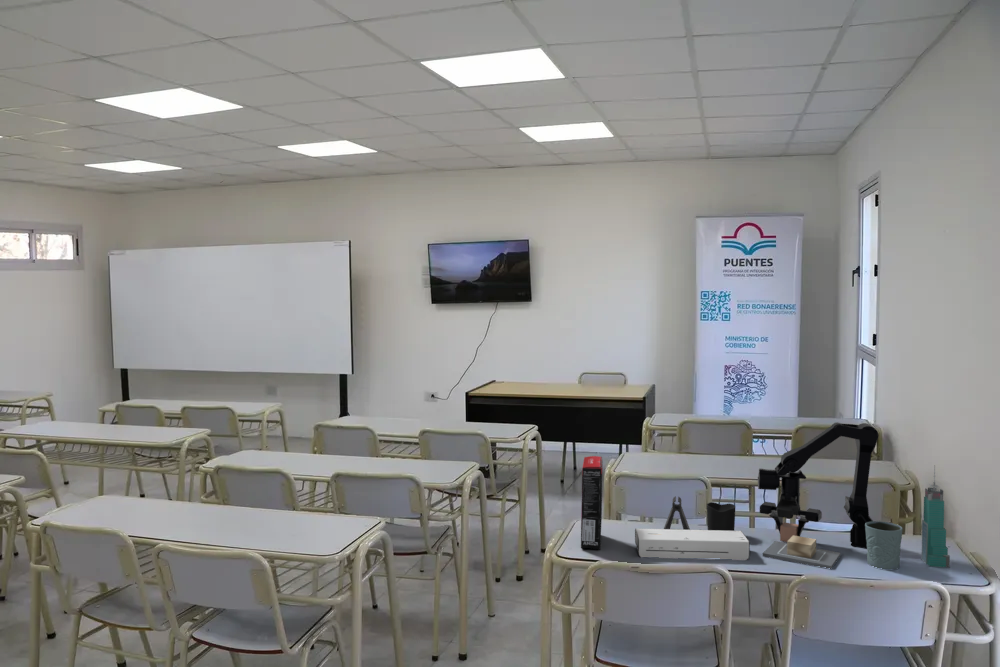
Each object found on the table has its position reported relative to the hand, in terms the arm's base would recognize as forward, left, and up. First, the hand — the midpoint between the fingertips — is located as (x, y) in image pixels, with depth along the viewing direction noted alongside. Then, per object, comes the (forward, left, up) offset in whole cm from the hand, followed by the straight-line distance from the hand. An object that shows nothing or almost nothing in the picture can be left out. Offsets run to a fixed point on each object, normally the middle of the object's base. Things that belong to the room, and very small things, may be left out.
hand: (789, 536), depth 247 cm
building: (-42, -2, -1) cm, 42 cm away
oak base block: (-7, +14, -1) cm, 16 cm away
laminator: (+23, +30, -2) cm, 38 cm away
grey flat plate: (-7, +14, -1) cm, 16 cm away
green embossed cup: (-29, +8, -1) cm, 30 cm away
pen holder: (+21, +7, -1) cm, 22 cm away
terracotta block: (0, 0, -1) cm, 1 cm away
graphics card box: (+54, +39, -1) cm, 66 cm away
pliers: (+34, +14, -1) cm, 37 cm away
